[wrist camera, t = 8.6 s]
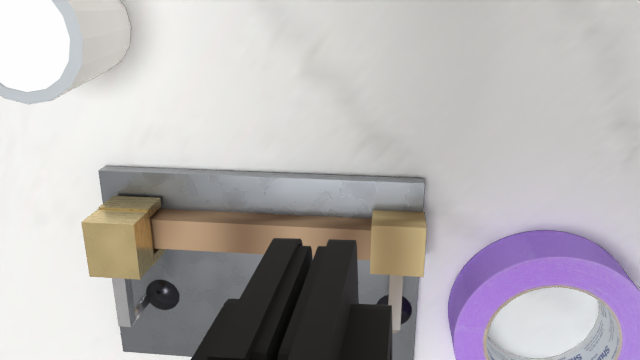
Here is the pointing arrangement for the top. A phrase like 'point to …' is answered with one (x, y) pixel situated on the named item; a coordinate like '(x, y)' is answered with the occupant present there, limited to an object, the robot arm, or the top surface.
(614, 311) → the masking tape
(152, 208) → the sliding head
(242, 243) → the trammel beam
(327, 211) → the plate
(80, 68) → the light grey cup
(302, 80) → the top surface
